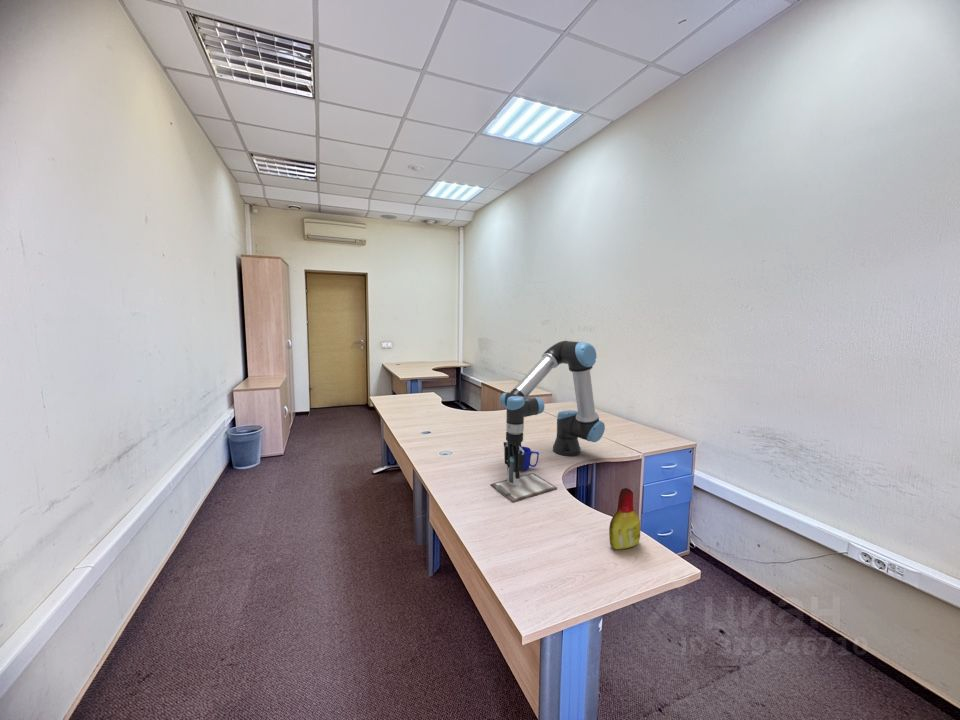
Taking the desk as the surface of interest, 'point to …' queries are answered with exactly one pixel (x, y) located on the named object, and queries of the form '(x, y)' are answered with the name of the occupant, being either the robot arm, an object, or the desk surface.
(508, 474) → the robot arm
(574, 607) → the desk surface
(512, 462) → the marker
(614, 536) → the bottle
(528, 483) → the clipboard
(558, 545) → the desk surface
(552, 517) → the desk surface
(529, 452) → the mug
